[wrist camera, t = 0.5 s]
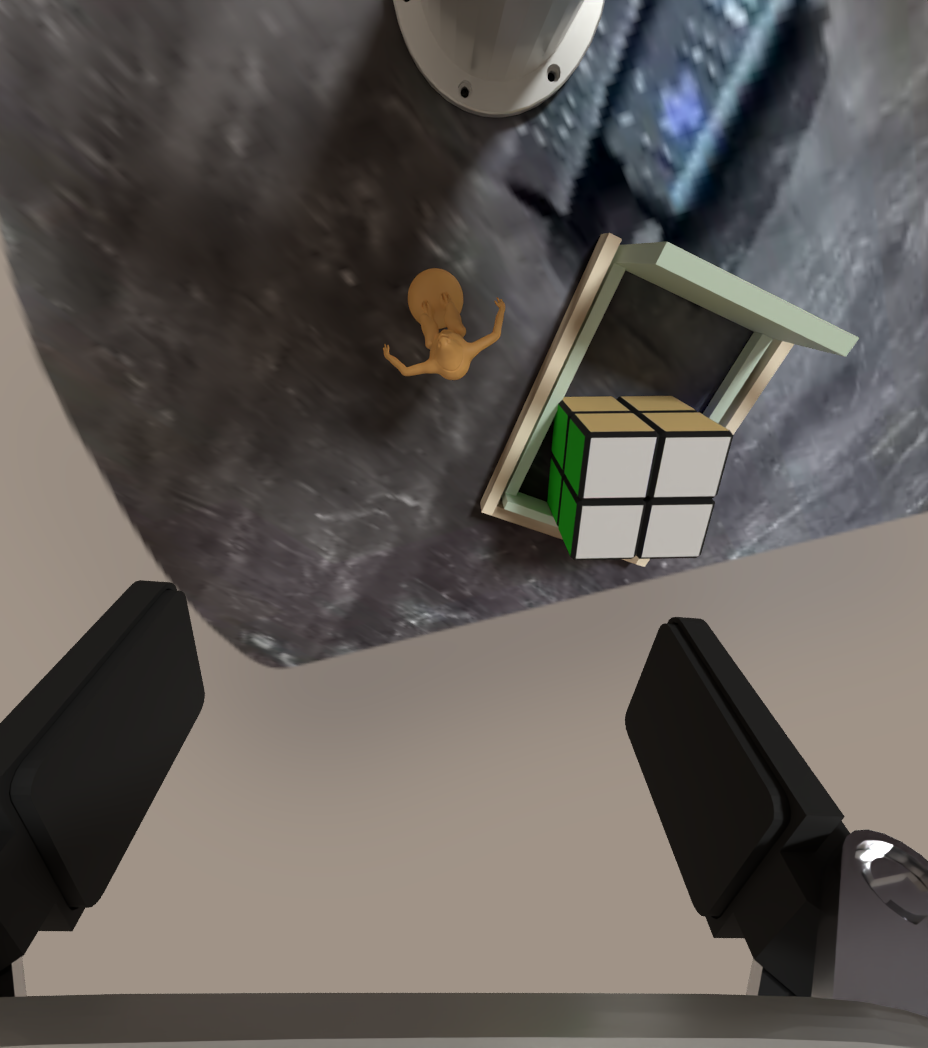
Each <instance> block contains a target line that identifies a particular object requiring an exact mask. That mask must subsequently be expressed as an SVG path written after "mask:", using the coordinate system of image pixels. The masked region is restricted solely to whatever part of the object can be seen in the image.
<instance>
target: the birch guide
mask: <svg viewBox="0 0 928 1048" xmlns="http://www.w3.org/2000/svg"><path fill="white" fill-rule="evenodd" d="M621 240H622V239H621V238H619V237H617V236H615V235H612V234H610V233H606V234H601V236H600V238H599V240H598V242H597V245H596V247H595V249H594V251H593V253H592V256H591V258H590V260H589V262H588V264H587V267H586V269H585V271H584V273H583V276H582V278H581V280H580V282H579V284H578V287H577V289H576V291H575V293H574V295H573V298H572V300H571V302H570V304H569V307H568V309H567V311H566V313H565V315H564V318H563V320H562V322H561V324H560V327H559V329H558V331H557V333H556V335H555V338H554V340H553V342H552V344H551V346H550V349H549V351H548V353H547V355H546V358H545V360H544V362H543V364H542V366H541V369H540V371H539V373H538V375H537V377H536V380H535V382H534V384H533V386H532V389H531V391H530V393H529V395H528V397H527V400H526V402H525V404H524V406H523V409H522V411H521V413H520V415H519V417H518V420H517V422H516V424H515V426H514V428H513V431H512V433H511V435H510V437H509V440H508V442H507V444H506V446H505V448H504V451H503V453H502V455H501V457H500V459H499V462H498V464H497V466H496V468H495V471H494V473H493V475H492V477H491V479H490V482H489V484H488V486H487V488H486V490H485V493H484V495H483V497H482V499H481V502H480V505H481V512H482V513H485V514H488V515H491V516H494V517H497V518H500V519H503V520H506V521H509V522H512V523H515V524H518V525H521V526H524V527H527V528H530V529H533V530H536V531H539V532H542V533H545V534H548V535H551V536H554V537H557V538H560V539H563V538H562V536H561V534H560V531H559V529H558V527H555V526H552V525H549V524H546V523H543V522H540V521H537V520H535V519H532V518H529V517H526V516H523V515H520V514H517V513H514V512H511V511H508V510H505V509H504V506H503V502H502V499H500V497H501V495H502V493H503V491H504V489H505V487H506V485H507V483H508V480H509V478H510V476H511V474H512V472H513V470H514V468H515V466H516V463H517V461H518V459H519V457H520V455H521V453H522V451H523V449H524V446H525V444H526V442H527V440H528V438H529V436H530V434H531V432H532V429H533V427H534V425H535V423H536V421H537V419H538V417H539V414H540V412H541V410H542V408H543V406H544V404H545V402H546V400H547V397H548V395H549V393H550V391H551V389H552V387H553V385H554V383H555V380H556V378H557V376H558V374H559V372H560V370H561V368H562V366H563V363H564V361H565V359H566V357H567V355H568V353H569V351H570V349H571V346H572V344H573V342H574V340H575V338H576V336H577V334H578V332H579V329H580V327H581V325H582V323H583V321H584V319H585V317H586V315H587V312H588V310H589V308H590V306H591V304H592V302H593V300H594V298H595V295H596V293H597V291H598V289H599V287H600V285H601V283H602V281H603V278H604V276H605V274H606V272H607V270H608V268H609V266H610V264H611V261H612V259H613V257H614V255H615V253H616V251H617V249H618V247H619V244H620V242H621ZM793 345H794V344H792V343H788V342H784V341H780V340H776V339H773V340H772V341H771V343H770V344H769V346H768V347H767V349H766V351H765V352H764V354H763V355H762V357H761V358H760V360H759V361H758V363H757V364H756V366H755V367H754V369H753V371H752V372H751V374H750V375H749V377H748V378H747V380H746V381H745V383H744V384H743V386H742V388H741V389H740V391H739V392H738V394H737V395H736V397H735V398H734V400H733V401H732V403H731V404H730V406H729V408H728V409H727V411H726V412H725V414H724V415H723V417H722V418H721V420H720V421H719V423H718V424H720V425H721V426H723V427H725V428H726V429H728V430H730V431H731V433H732V434H734V433H735V432H736V430H737V429H738V427H739V426H740V424H741V423H742V421H743V420H744V418H745V417H746V415H747V414H748V412H749V411H750V409H751V408H752V406H753V405H754V403H755V402H756V400H757V399H758V397H759V396H760V394H761V393H762V391H763V390H764V388H765V387H766V385H767V384H768V382H769V381H770V379H771V378H772V376H773V375H774V373H775V372H776V370H777V369H778V367H779V366H780V364H781V363H782V361H783V360H784V358H785V357H786V355H787V354H788V352H789V351H790V350H791V348H792V347H793ZM622 560H625V561H628V562H631V563H634V564H637V565H640V566H643V567H645V566H646V564H647V563H648V561H649V560H650V559H639V558H638V557H637V556H635V557H633V558H632V559H622Z"/></svg>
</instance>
